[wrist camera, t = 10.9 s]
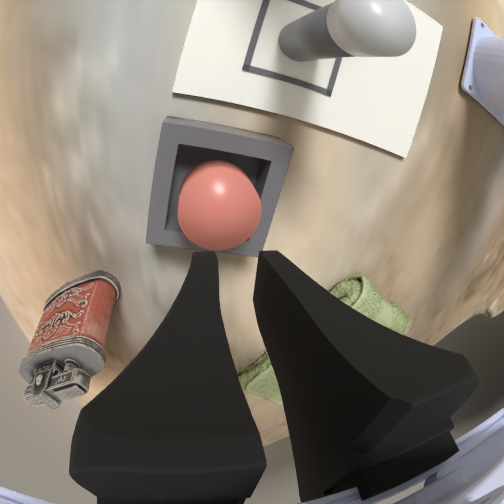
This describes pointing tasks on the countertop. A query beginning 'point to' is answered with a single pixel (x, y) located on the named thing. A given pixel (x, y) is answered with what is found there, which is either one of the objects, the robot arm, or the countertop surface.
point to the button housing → (207, 149)
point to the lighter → (70, 339)
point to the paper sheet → (306, 72)
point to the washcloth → (354, 295)
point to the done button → (218, 206)
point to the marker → (350, 31)
